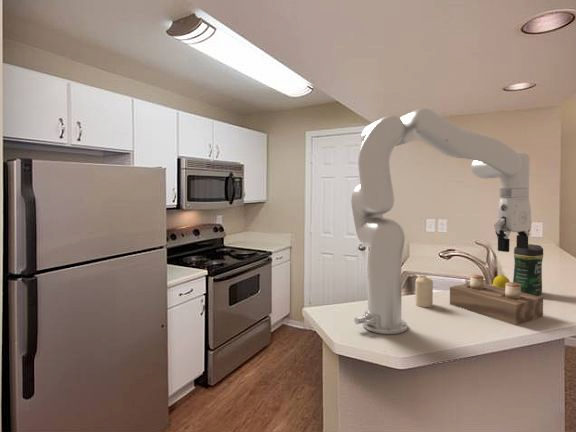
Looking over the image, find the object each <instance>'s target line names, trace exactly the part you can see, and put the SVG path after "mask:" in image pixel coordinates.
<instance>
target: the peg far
mask: <svg viewBox="0 0 576 432" xmlns="http://www.w3.org/2000/svg"><path fill="white" fill-rule="evenodd" d="M469 279H470V280H469V283H470V288H471V289H475V290H483V283H484V275H480V274H471V275H470V276H469ZM484 284H485V283H484Z"/></svg>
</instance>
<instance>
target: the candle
mask: <svg viewBox="0 0 576 432" xmlns="http://www.w3.org/2000/svg"><path fill="white" fill-rule="evenodd" d="M433 289H434V281H433V280H432V279H431V278H430V277H429V276H427V275H420V276H418V277H417V278H416V279H415V305H416V306H417V307H421V308H431V307H433V302H434V299H433V297H434V295H433Z"/></svg>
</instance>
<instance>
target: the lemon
mask: <svg viewBox="0 0 576 432" xmlns="http://www.w3.org/2000/svg"><path fill="white" fill-rule="evenodd" d="M507 282H510V280H509V278H508V277H507V276H505V275H503V274H500V275H497V276H496V277H494V279H493V282H492V286H497V287H501V288H505V283H507Z"/></svg>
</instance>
